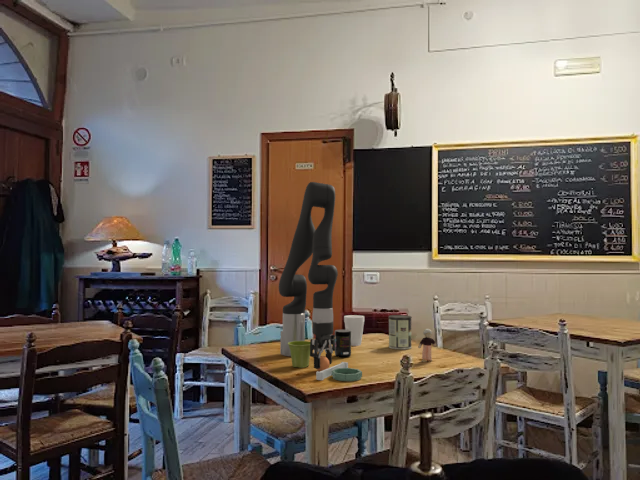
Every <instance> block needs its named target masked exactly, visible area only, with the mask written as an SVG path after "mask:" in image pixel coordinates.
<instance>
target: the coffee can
mask: <svg viewBox="0 0 640 480" xmlns="http://www.w3.org/2000/svg"><path fill="white" fill-rule="evenodd" d="M388 348H389V349H392V350H409V349H413V347H412V316H411V315H404V314H391V315H388Z"/></svg>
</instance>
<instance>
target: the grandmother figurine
mask: <svg viewBox="0 0 640 480" xmlns="http://www.w3.org/2000/svg"><path fill="white" fill-rule="evenodd" d="M422 334H423V335H424V337H423V338H422V339H421V340H420V342H419V344H418V347H417V348H418V349H421V347H422V353H421V362H423V363H427V362H429V363H431V362H433V359H432V345H433V347H434V348H436V347H437V344H436V341H435V339H433V338H432V337H431V336H432V334H433V331H432V330H431V329H430V328H425V329H424V330H423V333H422ZM422 345H423V346H422Z"/></svg>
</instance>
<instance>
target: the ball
mask: <svg viewBox="0 0 640 480" xmlns="http://www.w3.org/2000/svg"><path fill="white" fill-rule="evenodd" d="M330 365H331V364H330V363H329V360H328V358H326V355H325V356H324V355H321V356H320V368H319V369H316V370H317V371H318V372H320V371H323V370H325V369H328V368H330Z"/></svg>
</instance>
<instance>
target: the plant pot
mask: <svg viewBox="0 0 640 480" xmlns="http://www.w3.org/2000/svg"><path fill="white" fill-rule="evenodd" d="M288 345H289V348H290V352H291V356H290V357H291V367H293V368H300V369H302V368H303V369H304V368H307V367H309V364H310V359H311V356H310V340H305V341H293V342H289V343H288Z"/></svg>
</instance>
